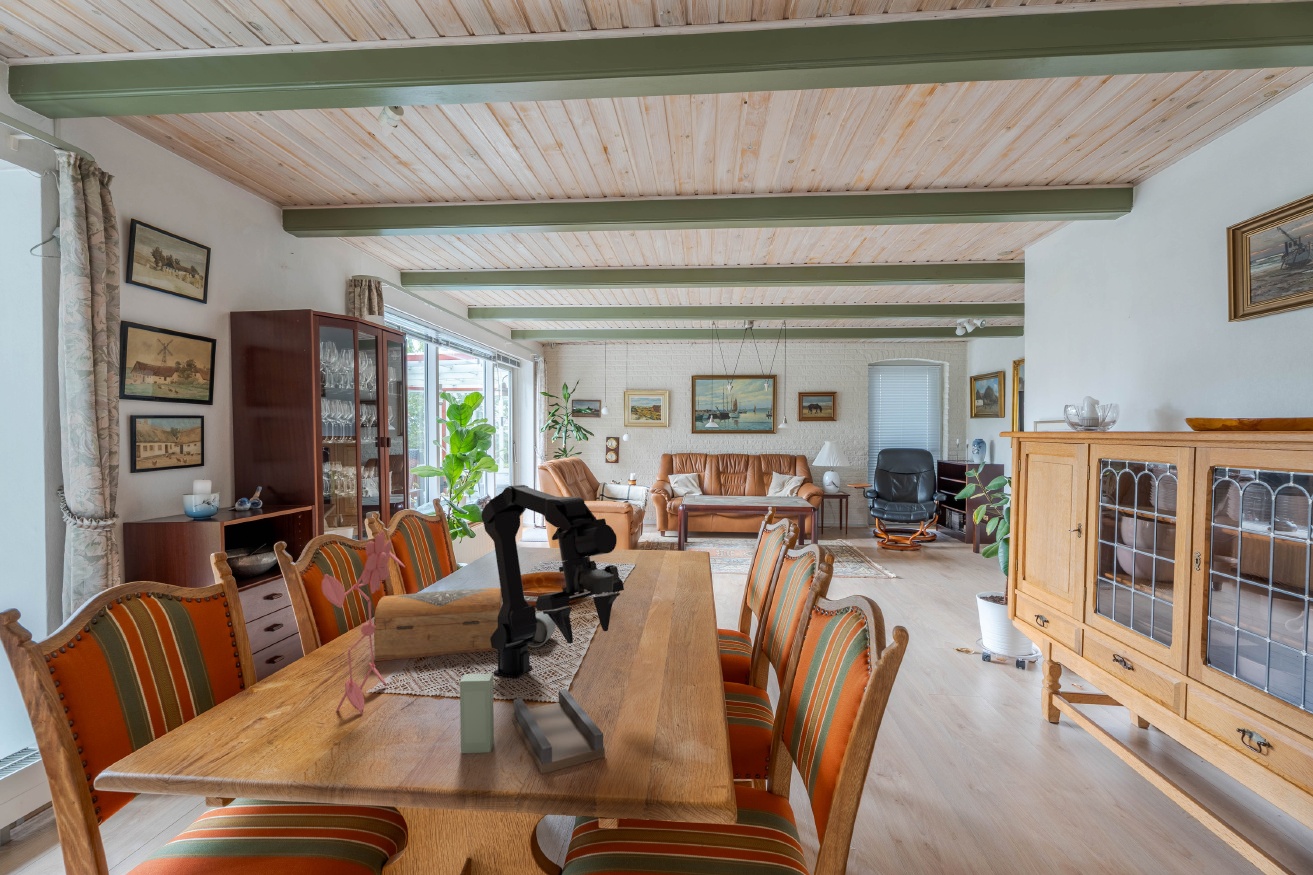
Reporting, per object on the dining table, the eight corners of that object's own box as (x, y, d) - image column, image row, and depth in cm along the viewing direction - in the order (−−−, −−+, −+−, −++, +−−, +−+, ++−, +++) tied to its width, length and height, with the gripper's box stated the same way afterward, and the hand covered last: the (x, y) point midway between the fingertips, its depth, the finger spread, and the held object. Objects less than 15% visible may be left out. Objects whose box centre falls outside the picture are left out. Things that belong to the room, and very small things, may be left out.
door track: (512, 720, 114) (512, 699, 114) (567, 707, 119) (567, 688, 119) (541, 773, 96) (541, 749, 96) (604, 756, 101) (604, 733, 101)
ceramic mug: (557, 637, 160) (556, 608, 160) (548, 648, 152) (547, 618, 152) (519, 636, 161) (519, 608, 161) (508, 647, 153) (507, 617, 153)
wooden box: (503, 630, 167) (502, 580, 166) (501, 651, 150) (500, 596, 150) (388, 639, 160) (387, 588, 160) (373, 662, 144) (372, 605, 144)
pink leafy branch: (308, 731, 110) (309, 543, 110) (373, 674, 136) (375, 522, 136) (390, 732, 110) (392, 545, 110) (440, 675, 136) (442, 523, 136)
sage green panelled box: (465, 743, 106) (464, 674, 106) (493, 742, 106) (493, 673, 106) (460, 753, 103) (459, 681, 102) (490, 752, 103) (489, 680, 103)
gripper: (563, 562, 109) (577, 649, 107) (635, 547, 123) (648, 624, 120) (528, 568, 116) (541, 649, 114) (600, 553, 130) (612, 625, 128)
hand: (588, 636), depth 119 cm, fingers open, 9 cm apart
